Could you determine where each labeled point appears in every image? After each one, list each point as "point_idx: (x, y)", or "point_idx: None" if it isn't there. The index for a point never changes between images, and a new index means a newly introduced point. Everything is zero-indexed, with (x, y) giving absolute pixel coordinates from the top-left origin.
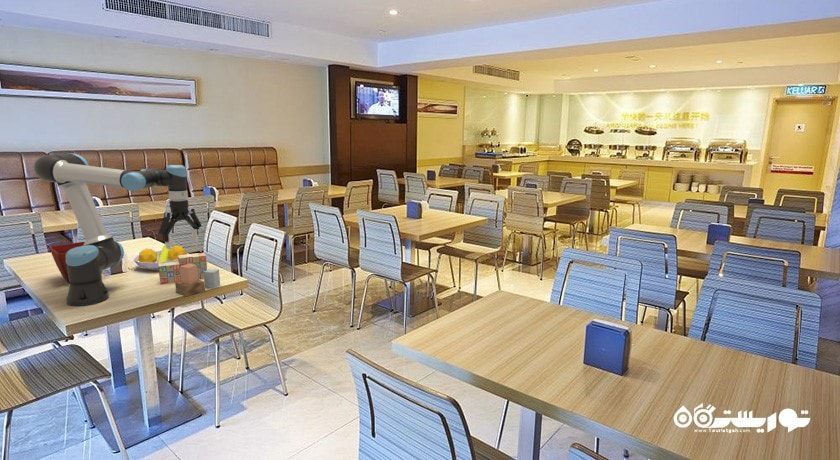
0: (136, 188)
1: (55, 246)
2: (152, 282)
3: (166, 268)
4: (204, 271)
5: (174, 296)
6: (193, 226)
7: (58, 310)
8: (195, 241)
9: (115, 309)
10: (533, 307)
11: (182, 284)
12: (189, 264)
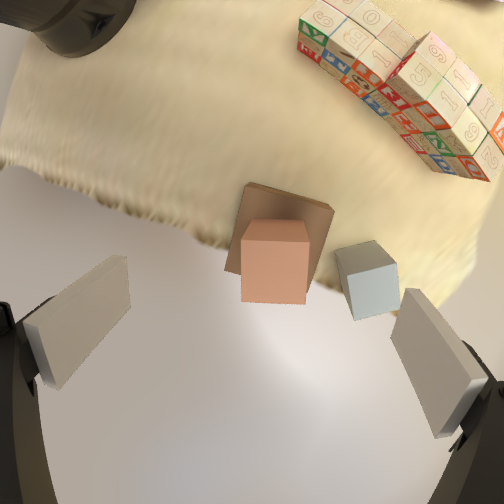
0: None
1: None
2: (300, 6)
3: (327, 43)
4: (355, 274)
5: (211, 216)
6: (461, 448)
7: (29, 42)
8: (396, 337)
9: (64, 150)
10: None
11: (238, 238)
12: (296, 260)
